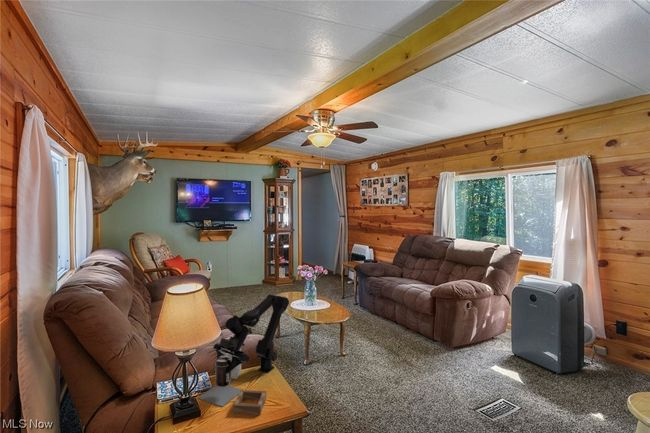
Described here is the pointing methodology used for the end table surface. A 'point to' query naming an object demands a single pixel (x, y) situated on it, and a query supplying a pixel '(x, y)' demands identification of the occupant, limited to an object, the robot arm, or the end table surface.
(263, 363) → the robot arm
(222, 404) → the slate mat
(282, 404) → the end table surface
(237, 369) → the supplement box
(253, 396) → the pocket frame
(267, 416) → the end table surface
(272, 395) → the end table surface
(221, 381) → the beverage can
